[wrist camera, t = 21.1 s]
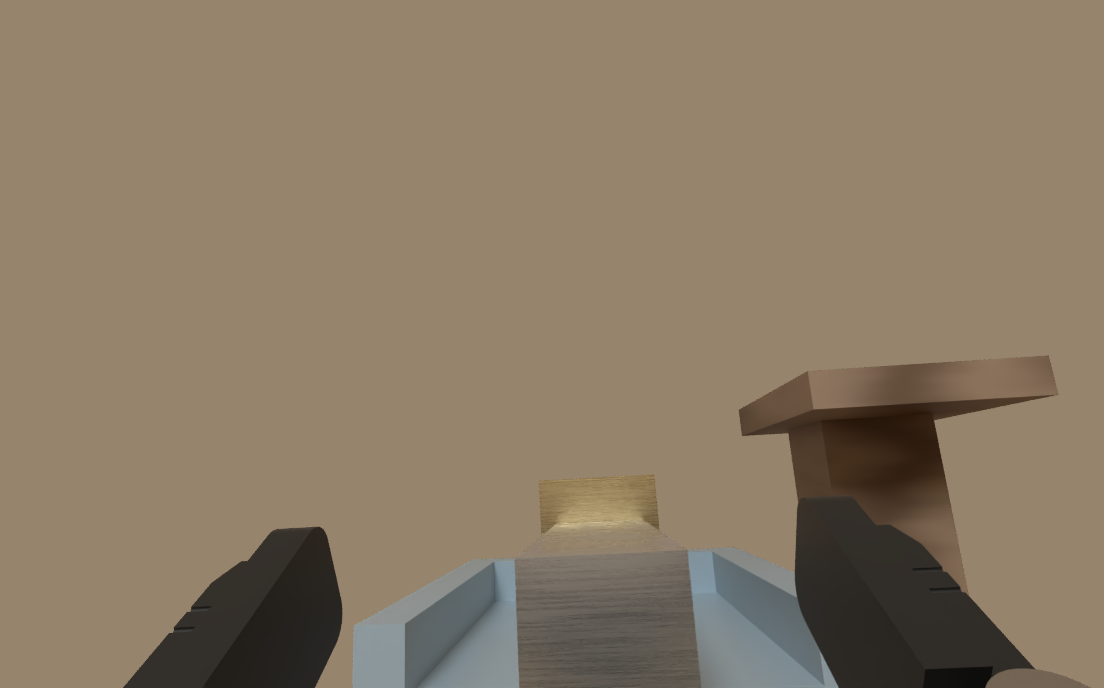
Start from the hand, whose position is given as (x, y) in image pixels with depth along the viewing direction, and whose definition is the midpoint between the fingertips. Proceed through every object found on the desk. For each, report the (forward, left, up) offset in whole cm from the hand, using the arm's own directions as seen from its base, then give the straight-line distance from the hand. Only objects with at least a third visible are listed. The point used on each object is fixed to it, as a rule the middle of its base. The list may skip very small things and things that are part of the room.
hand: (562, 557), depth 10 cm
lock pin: (-1, -13, -4) cm, 14 cm away
